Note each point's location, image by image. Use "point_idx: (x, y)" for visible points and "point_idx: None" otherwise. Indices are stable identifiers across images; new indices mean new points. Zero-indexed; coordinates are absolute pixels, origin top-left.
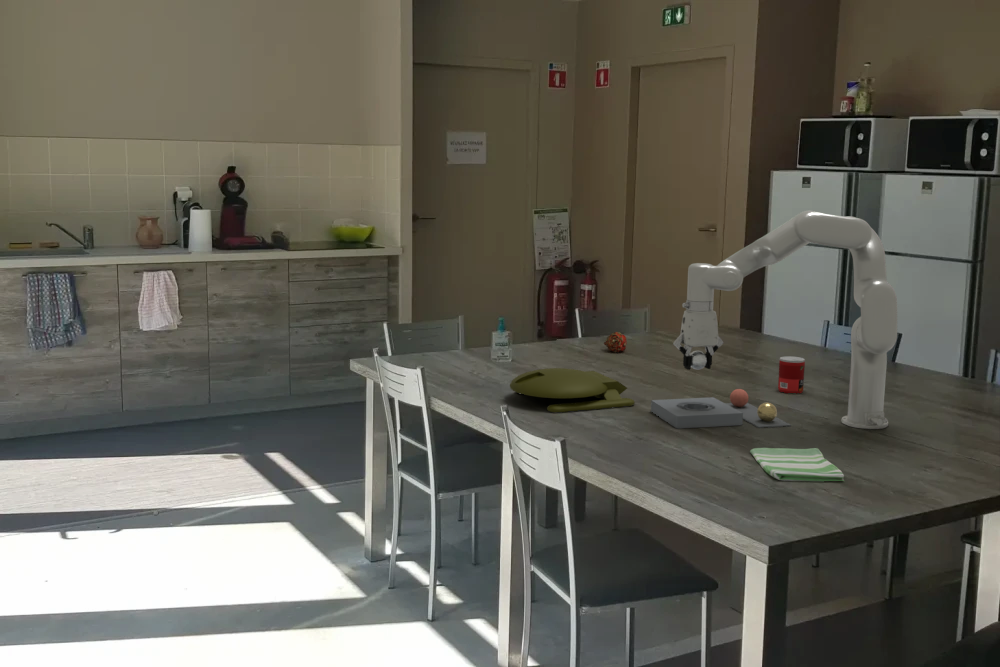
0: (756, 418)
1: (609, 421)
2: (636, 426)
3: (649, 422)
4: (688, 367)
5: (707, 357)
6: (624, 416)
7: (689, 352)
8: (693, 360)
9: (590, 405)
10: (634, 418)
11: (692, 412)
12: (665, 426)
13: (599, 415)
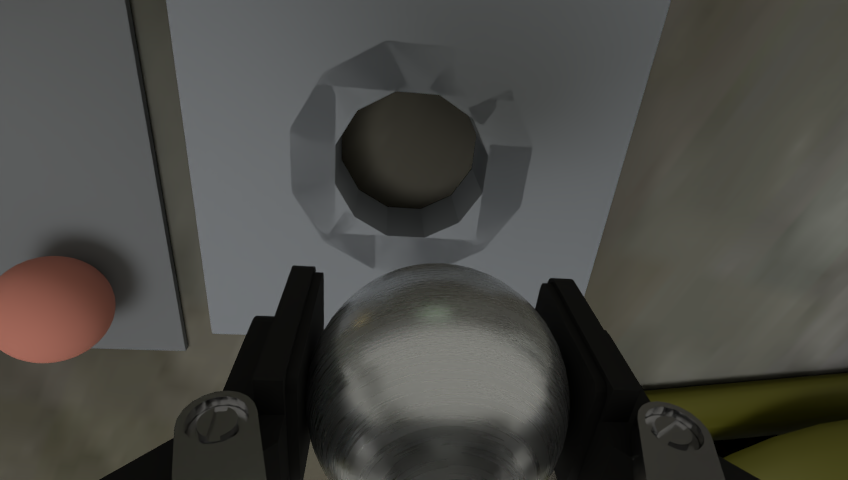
0: (38, 3)
1: (843, 200)
2: (808, 71)
3: (689, 130)
4: (577, 292)
5: (302, 387)
6: (716, 263)
7: (653, 452)
8: (550, 336)
9: (779, 393)
10: (700, 220)
11: (520, 22)
12: (670, 22)
13: (798, 301)
